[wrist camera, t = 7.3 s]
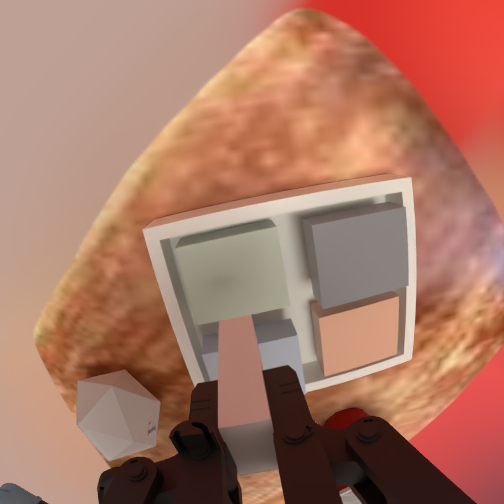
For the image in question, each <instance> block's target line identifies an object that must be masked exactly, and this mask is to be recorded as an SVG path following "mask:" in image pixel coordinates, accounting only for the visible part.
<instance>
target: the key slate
mask: <svg viewBox="0 0 504 504" xmlns="http://www.w3.org/2000/svg"><path fill="white" fill-rule="evenodd" d="M254 329H255V333H256V338H257V342H258V346H259V351H260V355H261V359H262V364H263V369H264V370H267V369H271V368H276V367H280V366H285V365H289V366H290V367H291V368H292V369H294V370H295V371H296V373H297V376H298V379H299V382H300V385H301V388H302V391H303V394H304V395H305V394H306V389H305V382H304V375H303V368H302V361H301V354H300V347H299V340H298V335H297V332H296V330H295V327H294V325H293V322H292V320H291V318H290V319H285V320H281V321H276V322H272V323H267V324H262V325H258V326H254ZM218 336H219V333H218V334H212V335H207V336H203V344H202V354H201V355H202V358H203V361H204V364H205V366H206V369H207V372H208V375H209V378H210V381H214V380H218Z"/></svg>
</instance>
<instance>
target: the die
mask: <svg viewBox="0 0 504 504" xmlns="http://www.w3.org/2000/svg"><path fill="white" fill-rule="evenodd" d="M160 404H161V402H160V401H159V400H158V399H157V398H155V397H154V396H153V395H152V394H151V393H150V392H149V391H148V390H147V389H145V388H144V387H143V386H142V385H141V384H140V383H139V382H138V381H137V380H136V379H135V378H134V377H133V376H132V375H131V374H130V373H129V372H127V371H126V370H125V369H124V370H120V371H116V372H112V373H108V374H104V375H99V376H95V377H91V378H86V379H82V380H78V383H77V426H78V427H79V428H80V429H81V431H82V432H83V433H84V434H85V435H86V437H87V438H88V439H89V440H90V441H91V442H92V443H93V445H94V446H95V447H96V448H97V449H98V450H99V451H100V452H101V453H102V455H103V456H104V457H105V458H106V459H107V460H108V461H111V460H115V459H118V458H122V457H125V456H128V455H131V454H134V453H137V452H140V451H143V450H146V449H149V448H152V447H155V446H156V440H157V431H158V421H159V413H160Z"/></svg>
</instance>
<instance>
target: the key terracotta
mask: <svg viewBox="0 0 504 504" xmlns="http://www.w3.org/2000/svg"><path fill="white" fill-rule="evenodd" d="M311 312H312V320H313V328H314V336H315V345H316V354H317V361H318V363H319V365H320V367H321V370H322V372H323V374H324V376H329V375H332V374H336V373H339V372H343V371H346V370H350V369H353V368H356V367H360V366H363V365H366V364H369V363H372V362H375V361H378V360H381V359H384V358H387V357H390V356H393V355H396V354H397V344H398V321H399V296H398V295H397V294H396V293H395V292H393V291H389V292H385V293H382V294H378V295H375V296H371V297H368V298H364V299H360V300H357V301H353V302H349V303H345V304H341V305H338V306H334V307H330V308H326V309H322V308H321V306H320V304H319V303H318V302H316V303H312V304H311Z"/></svg>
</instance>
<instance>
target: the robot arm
mask: <svg viewBox="0 0 504 504" xmlns="http://www.w3.org/2000/svg"><path fill="white" fill-rule="evenodd" d="M169 438H170V439H171V441H172V443H173V444H174V446H175V448H176V449H177V451H178V454H176V455H175V456H173V457H171V458H168V459H165V460H162V461H159V462H156V463H154V462H153V461H152V460H151V459H149V458H146V457H135V458H131V459H129V460H127V461H126V462H124V463H123V464H122V466H121V467H120V468H112V469H109V470H106V471H104V472H103V473H102V474H101V476H100V479H99V482H98V486H97V491H98V499H99V504H242V493H241V487H240V484H239V482H238V480H237V471H238V473H239V475H246V474H252V473H259V472H264V471H270V470H275V469H279V474H280V479H281V484H282V489H283V495H284V500H285V504H343V502H342V499H341V496H340V493H339V490H338V487H337V485H348V487H349V488H350V489H351V490H352V492H353V493H354V494H355V496H356V497H357V498H358V499H359V501H360V502H361V503H362V504H477V503H475V502H474V501H473V500H472V499H471V498H470V497H469V496H467V495H466V494H465V493H464V492H463V491H462V490H461V489H460V488H458V487H457V486H456V485H455V484H454V483H453V482H452V481H451V480H450V479H448V478H447V477H446V476H445V475H444V474H443V473H442V472H441V471H440V470H438V469H437V468H436V467H435V466H434V465H433V464H432V463H431V462H430V461H429V460H428V459H426V458H425V457H424V456H423V455H422V454H421V453H420V452H419V451H418V450H417V449H416V448H415V447H414V446H412V445H411V444H410V443H409V442H408V441H407V440H406V439H405V438H404V437H403V436H402V435H401V434H400V433H399V432H398V431H396V430H395V429H394V428H393V427H392V426H391V425H390V424H389V423H388V422H387V421H385V420H384V419H382V418H380V417H375V416H367V417H362V418H359V419H357V420H355V421H354V422H352V423H351V424H350V425H349V427H348V428H345V429H329V428H325V427H322V426H320V425H318V424H317V423H315V422H314V421H313V419H312V417H311V415H310V412H309V409H308V406H307V403H306V400H305V397H304V394H303V391H302V388H301V385H300V382H299V379H298V376H297V373H296V371H295V370H294V369H292V368H291V367H290V366H289V365H285V366H280V367H276V368H271V369H267V370H264V369H263V364H262V359H261V355H260V351H259V346H258V342H257V338H256V333H255V329H254V325H253V320H252V316H251V315H246V316H241V317H236V318H232V319H227V320H222V321H219V336H218V380H214V381H208V382H202V383H197V385H196V387H195V388H194V390H193V391H192V394H191V404H190V414H189V420H187V421H184V422H182V423H180V424H178V425H177V426H176V427H175V428H174V429H173V430H172V431H171V433H170V436H169ZM41 499H42V498H40V497H39V496H35V495H33V494H31V493H29V492H28V491H26V490H24V489H23V488H21V487H19V486H18V485H16V484H13V483H6V484H3V485H2V486H1V487H0V504H48V503H46V502H45V501H43V500H41Z"/></svg>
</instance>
